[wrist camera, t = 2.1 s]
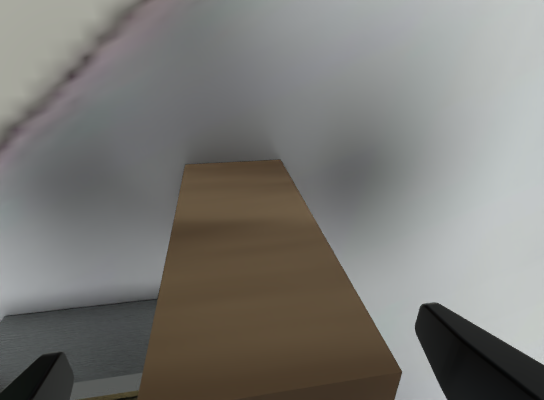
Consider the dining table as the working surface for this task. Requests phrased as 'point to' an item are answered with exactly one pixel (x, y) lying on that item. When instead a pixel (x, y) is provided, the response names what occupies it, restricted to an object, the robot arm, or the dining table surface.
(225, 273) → the rail post
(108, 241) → the dining table surface
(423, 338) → the robot arm
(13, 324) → the gray open box
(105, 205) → the dining table surface
